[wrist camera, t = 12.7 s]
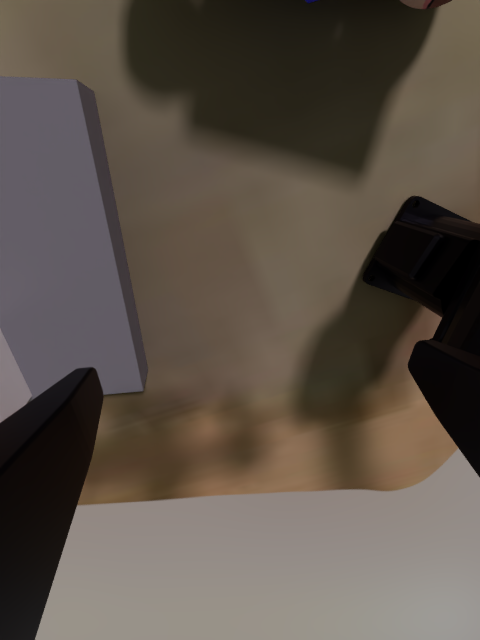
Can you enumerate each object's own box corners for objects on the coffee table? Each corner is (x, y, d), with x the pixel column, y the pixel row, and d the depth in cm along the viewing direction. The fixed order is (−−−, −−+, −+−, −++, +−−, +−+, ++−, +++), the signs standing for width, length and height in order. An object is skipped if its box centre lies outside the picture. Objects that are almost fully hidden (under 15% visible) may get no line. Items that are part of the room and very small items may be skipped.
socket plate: (94, 91, 14) (76, 79, 12) (148, 369, 23) (143, 391, 21) (-238, 79, 13) (-327, 62, 10) (-43, 385, 21) (-69, 410, 19)
